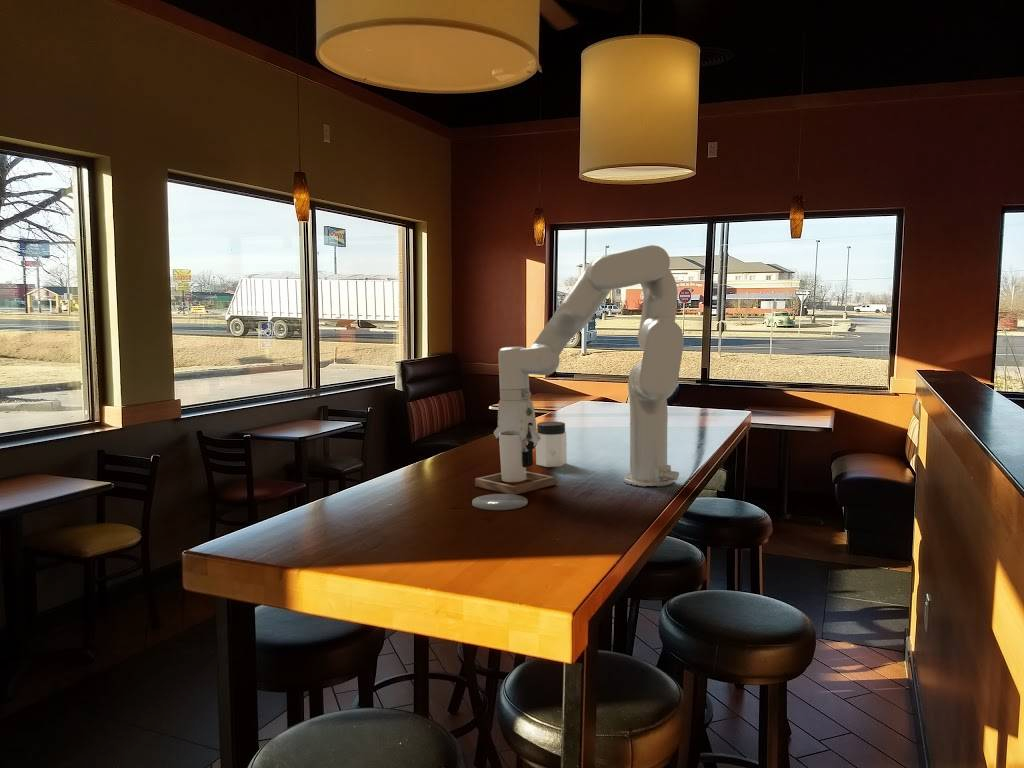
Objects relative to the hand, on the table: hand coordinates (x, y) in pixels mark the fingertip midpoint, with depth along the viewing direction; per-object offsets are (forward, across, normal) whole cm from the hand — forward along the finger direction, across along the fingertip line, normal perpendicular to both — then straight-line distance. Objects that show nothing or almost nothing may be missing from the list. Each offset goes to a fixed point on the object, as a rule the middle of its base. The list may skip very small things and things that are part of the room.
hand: (517, 464), depth 196 cm
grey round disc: (+5, -9, +16) cm, 19 cm away
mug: (+4, 0, 0) cm, 4 cm away
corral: (+6, +1, +1) cm, 6 cm away
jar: (+6, +12, -25) cm, 28 cm away
